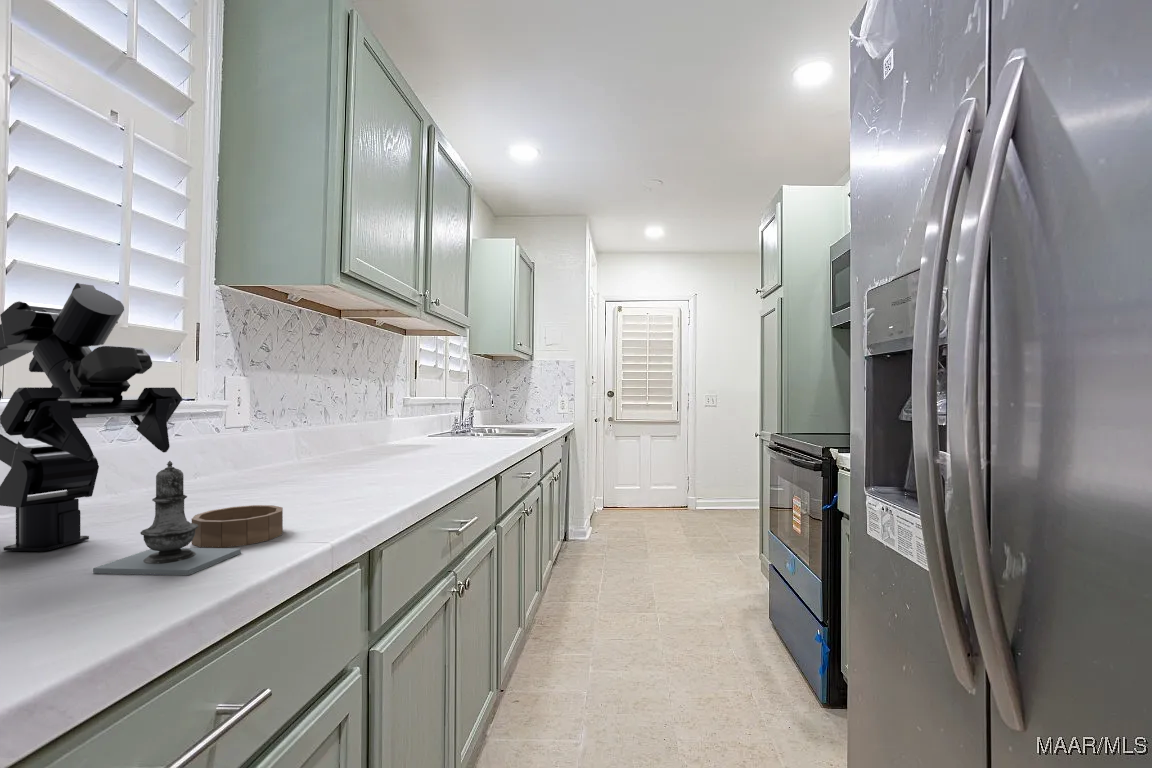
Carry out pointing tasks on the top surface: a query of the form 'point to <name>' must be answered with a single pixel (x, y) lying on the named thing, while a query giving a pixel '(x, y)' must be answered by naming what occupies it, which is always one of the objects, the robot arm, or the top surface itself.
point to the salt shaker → (169, 520)
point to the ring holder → (237, 526)
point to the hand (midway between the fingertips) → (130, 453)
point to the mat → (183, 567)
